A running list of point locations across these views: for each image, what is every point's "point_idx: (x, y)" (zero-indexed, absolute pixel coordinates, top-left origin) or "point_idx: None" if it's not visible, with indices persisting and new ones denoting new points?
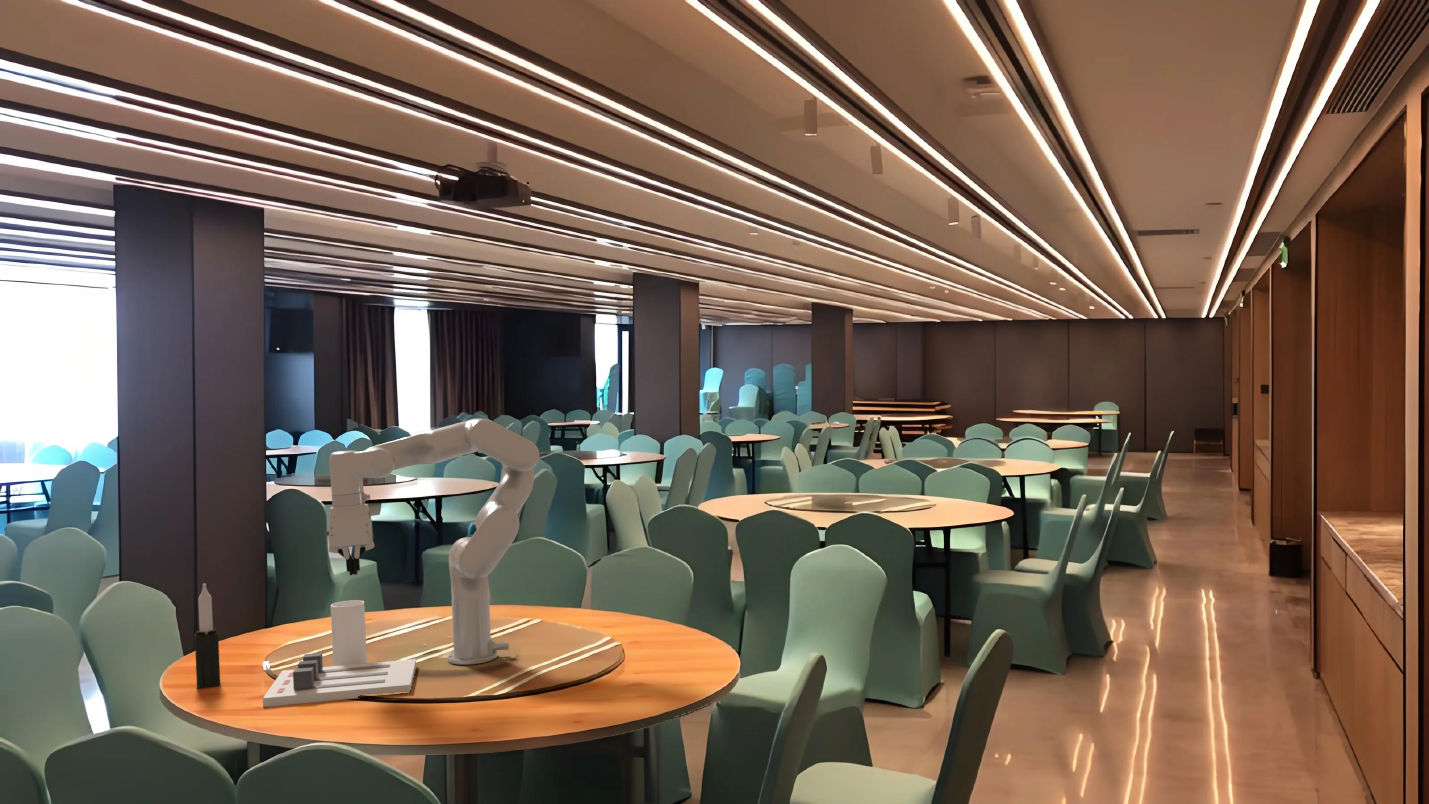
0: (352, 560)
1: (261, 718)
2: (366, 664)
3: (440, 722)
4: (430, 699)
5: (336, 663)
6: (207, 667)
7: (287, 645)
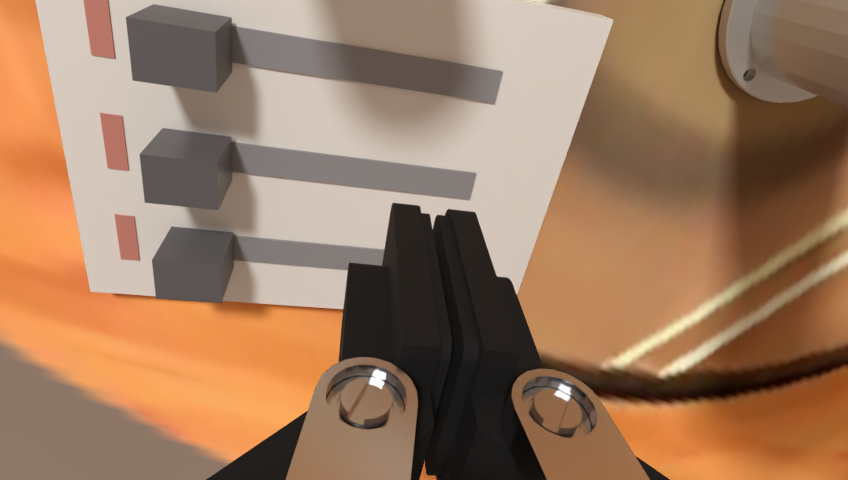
0: (426, 470)
1: (133, 359)
2: (416, 6)
3: None
4: None
5: None
6: None
7: None
